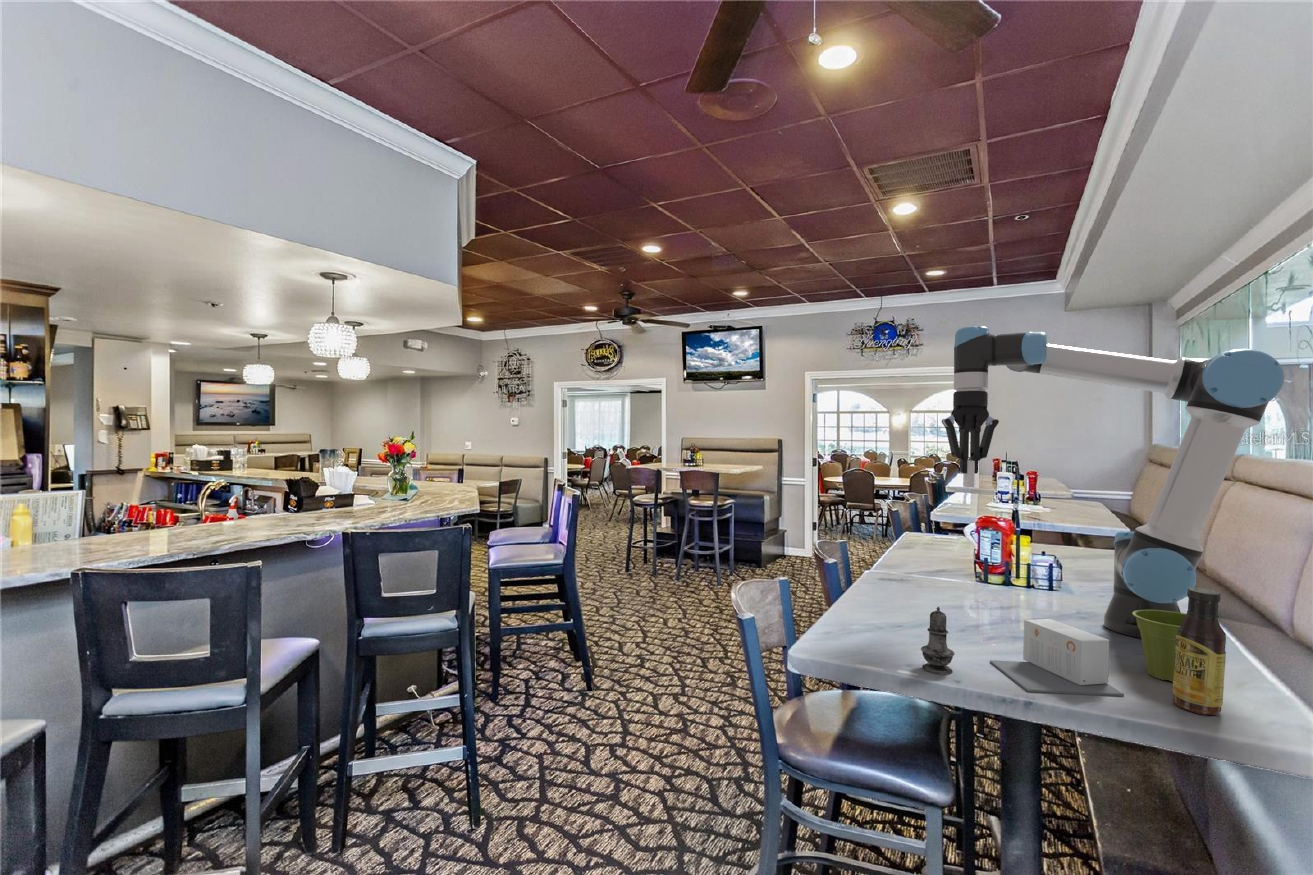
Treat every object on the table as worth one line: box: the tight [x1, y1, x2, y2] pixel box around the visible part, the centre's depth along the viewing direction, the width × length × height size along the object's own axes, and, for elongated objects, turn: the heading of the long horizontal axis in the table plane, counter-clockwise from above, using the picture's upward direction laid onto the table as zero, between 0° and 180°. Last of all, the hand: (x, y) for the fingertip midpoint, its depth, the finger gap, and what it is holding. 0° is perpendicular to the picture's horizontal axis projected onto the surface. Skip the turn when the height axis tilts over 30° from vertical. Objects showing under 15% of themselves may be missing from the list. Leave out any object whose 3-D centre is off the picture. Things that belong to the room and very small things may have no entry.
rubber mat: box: [989, 659, 1125, 697], centre depth 113 cm, size 16×14×1 cm
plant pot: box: [1132, 610, 1187, 683], centre depth 115 cm, size 12×12×11 cm
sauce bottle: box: [1172, 587, 1227, 716], centre depth 101 cm, size 7×6×20 cm
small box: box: [1022, 618, 1110, 685], centre depth 116 cm, size 8×6×13 cm
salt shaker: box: [920, 606, 955, 676], centre depth 117 cm, size 6×6×12 cm
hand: (968, 486), depth 150 cm, fingers closed
